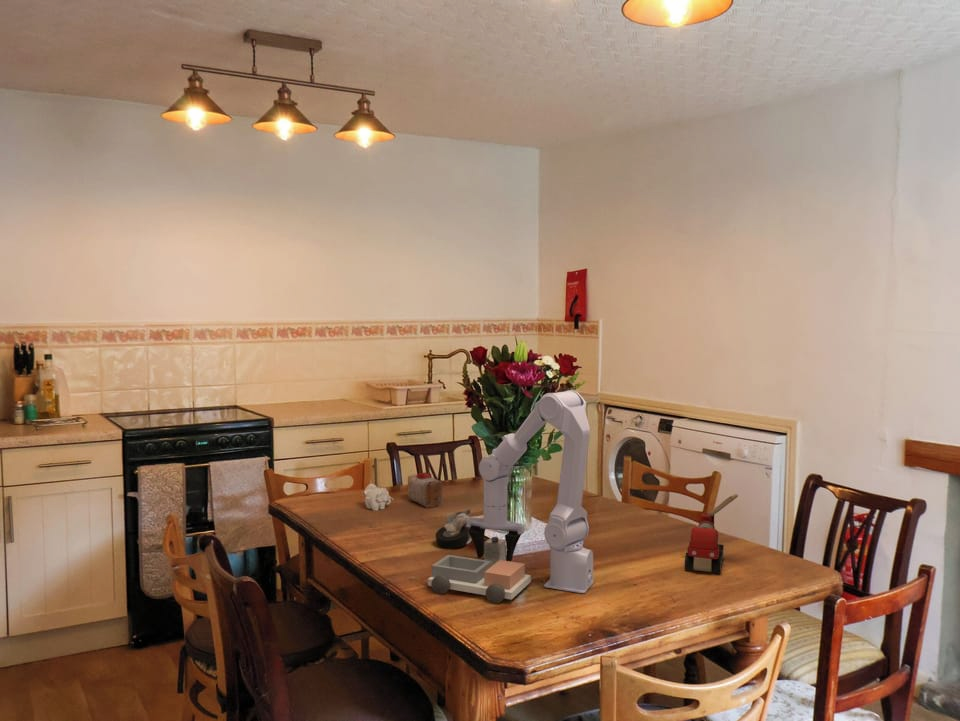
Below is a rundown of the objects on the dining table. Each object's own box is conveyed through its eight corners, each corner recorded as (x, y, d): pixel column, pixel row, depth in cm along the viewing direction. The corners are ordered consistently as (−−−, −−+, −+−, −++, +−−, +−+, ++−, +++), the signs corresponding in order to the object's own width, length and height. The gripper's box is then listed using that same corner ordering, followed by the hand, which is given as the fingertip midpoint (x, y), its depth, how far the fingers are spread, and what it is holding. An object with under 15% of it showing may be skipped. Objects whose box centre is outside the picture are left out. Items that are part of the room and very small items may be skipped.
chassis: (532, 584, 185) (533, 560, 185) (509, 606, 172) (509, 580, 172) (453, 571, 193) (453, 549, 193) (425, 591, 180) (425, 567, 180)
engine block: (505, 563, 199) (505, 536, 199) (499, 568, 196) (499, 541, 195) (490, 561, 201) (490, 534, 200) (484, 566, 197) (484, 538, 197)
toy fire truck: (683, 573, 194) (685, 500, 193) (689, 554, 209) (691, 486, 207) (733, 579, 190) (735, 504, 189) (736, 559, 205) (738, 490, 203)
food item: (404, 499, 261) (404, 469, 260) (426, 496, 265) (426, 467, 265) (424, 509, 250) (424, 477, 249) (446, 506, 254) (446, 474, 253)
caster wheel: (443, 560, 210) (432, 543, 219) (485, 546, 213) (472, 530, 223) (439, 536, 208) (428, 520, 217) (482, 523, 211) (469, 507, 221)
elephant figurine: (398, 508, 251) (398, 485, 250) (371, 513, 245) (371, 489, 244) (384, 503, 257) (384, 480, 256) (358, 508, 250) (358, 485, 250)
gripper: (529, 503, 198) (528, 558, 199) (474, 497, 204) (474, 550, 205) (518, 510, 191) (518, 566, 193) (463, 503, 197) (462, 558, 198)
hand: (494, 559), depth 198 cm, fingers open, 7 cm apart
